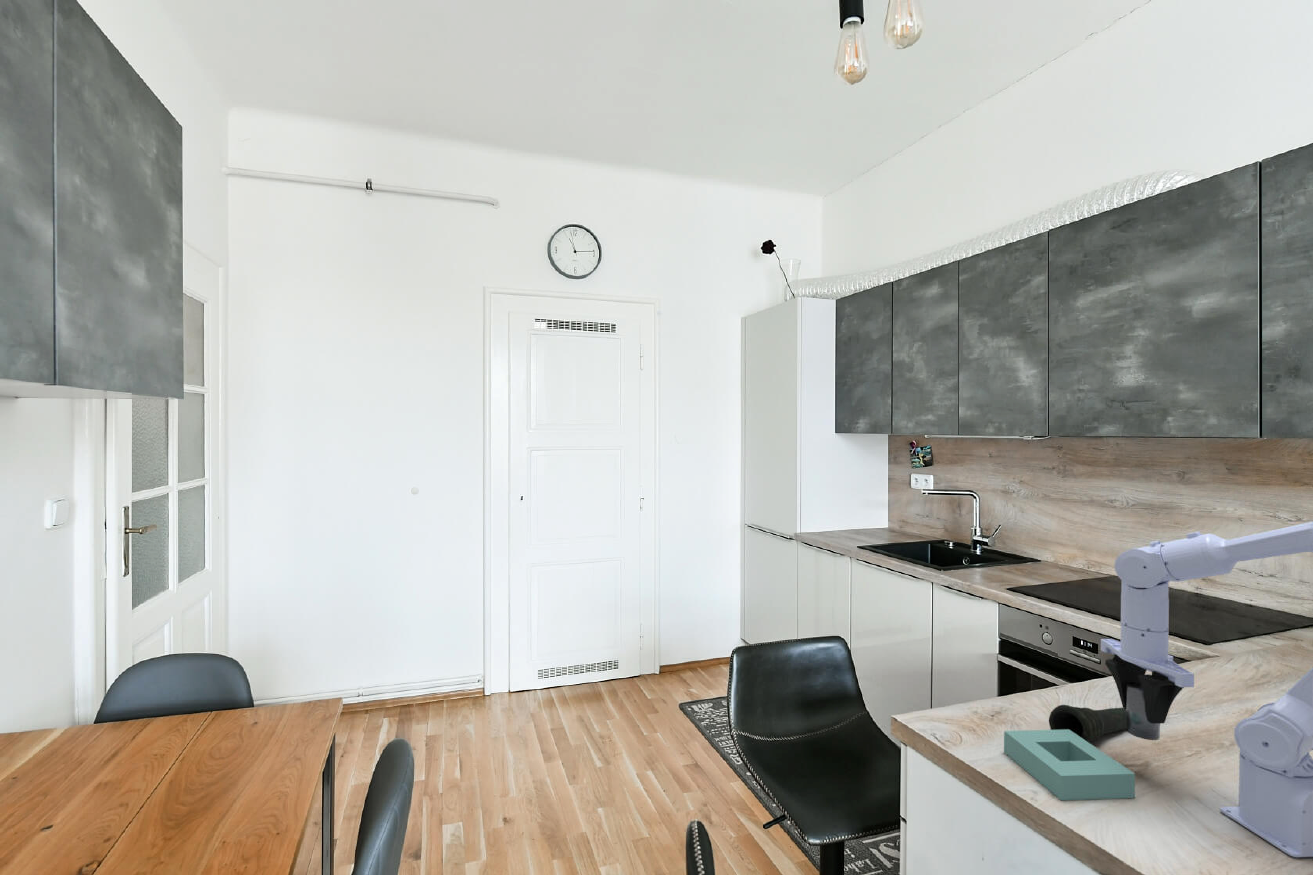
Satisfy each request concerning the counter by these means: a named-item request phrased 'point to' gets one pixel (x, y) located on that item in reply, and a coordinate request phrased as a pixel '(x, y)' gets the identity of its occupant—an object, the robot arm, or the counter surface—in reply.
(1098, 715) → the tool
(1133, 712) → the pin
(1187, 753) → the counter surface
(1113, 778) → the hole block
